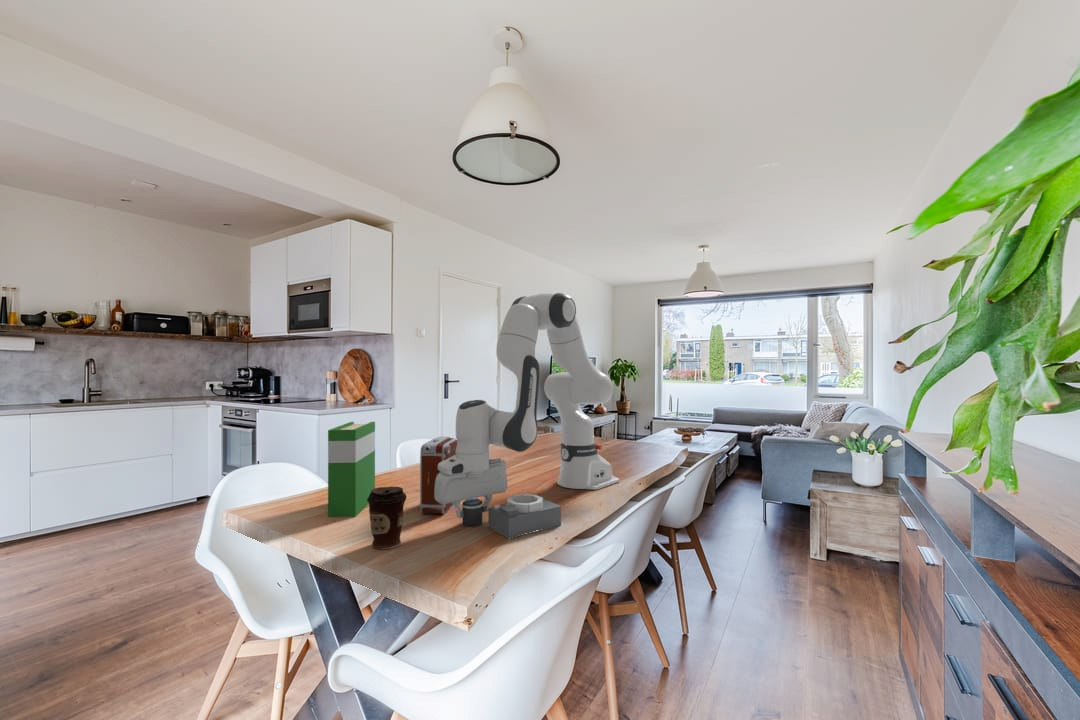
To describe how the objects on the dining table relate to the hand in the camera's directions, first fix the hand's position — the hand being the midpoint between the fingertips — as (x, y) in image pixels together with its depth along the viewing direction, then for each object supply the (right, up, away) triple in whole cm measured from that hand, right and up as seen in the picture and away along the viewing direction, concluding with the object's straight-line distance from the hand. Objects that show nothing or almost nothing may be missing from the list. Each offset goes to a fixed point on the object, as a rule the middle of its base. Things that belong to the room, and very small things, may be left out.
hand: (472, 514), depth 122 cm
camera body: (+14, -2, -2) cm, 14 cm away
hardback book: (-37, -3, +14) cm, 40 cm away
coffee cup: (-18, -2, -14) cm, 23 cm away
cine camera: (-11, -3, +15) cm, 19 cm away
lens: (0, -2, 0) cm, 2 cm away
